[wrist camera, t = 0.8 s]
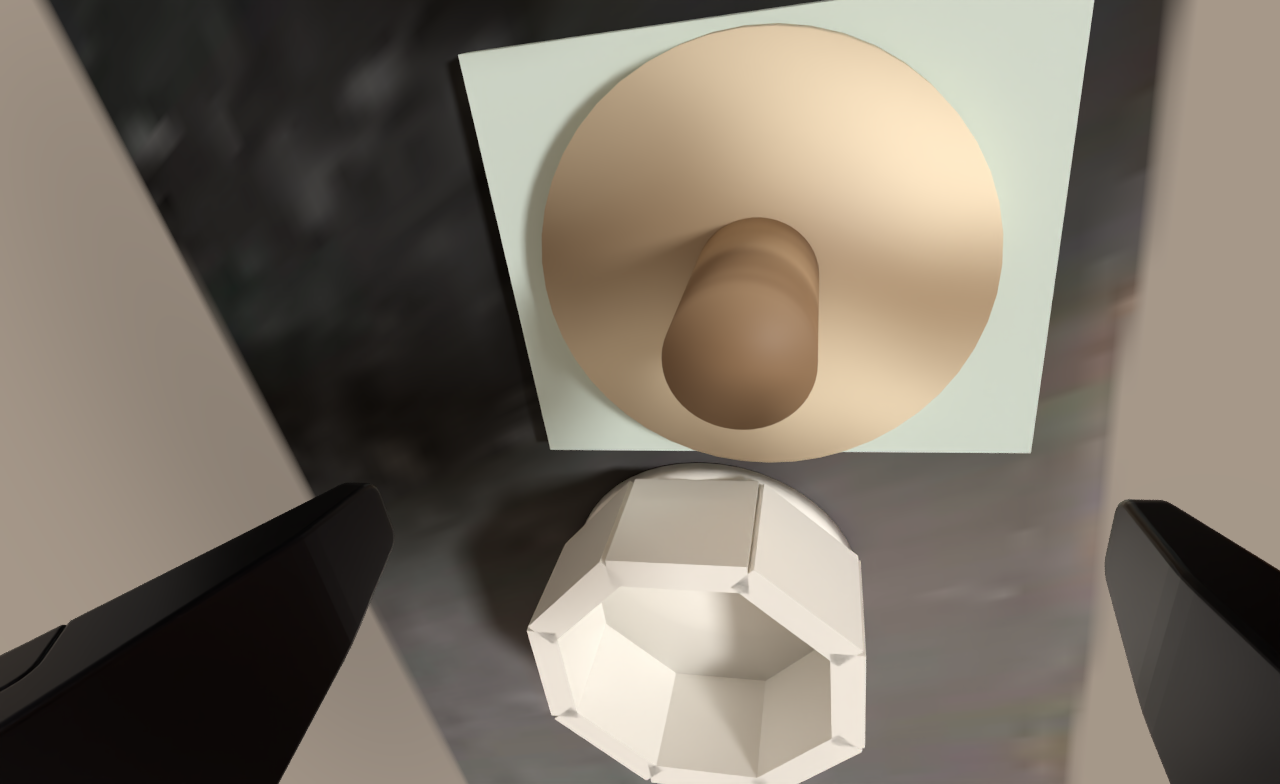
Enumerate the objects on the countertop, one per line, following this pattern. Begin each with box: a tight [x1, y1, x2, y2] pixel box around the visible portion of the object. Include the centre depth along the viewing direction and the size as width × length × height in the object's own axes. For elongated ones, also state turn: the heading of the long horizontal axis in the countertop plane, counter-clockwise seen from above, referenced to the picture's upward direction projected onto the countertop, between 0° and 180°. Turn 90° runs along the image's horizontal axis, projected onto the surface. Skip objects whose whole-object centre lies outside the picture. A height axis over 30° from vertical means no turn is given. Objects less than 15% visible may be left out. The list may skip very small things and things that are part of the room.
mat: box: [458, 0, 1094, 453], centre depth 17 cm, size 10×12×1 cm
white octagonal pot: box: [527, 463, 866, 784], centre depth 20 cm, size 8×8×4 cm
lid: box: [542, 23, 1003, 462], centre depth 14 cm, size 10×10×5 cm
